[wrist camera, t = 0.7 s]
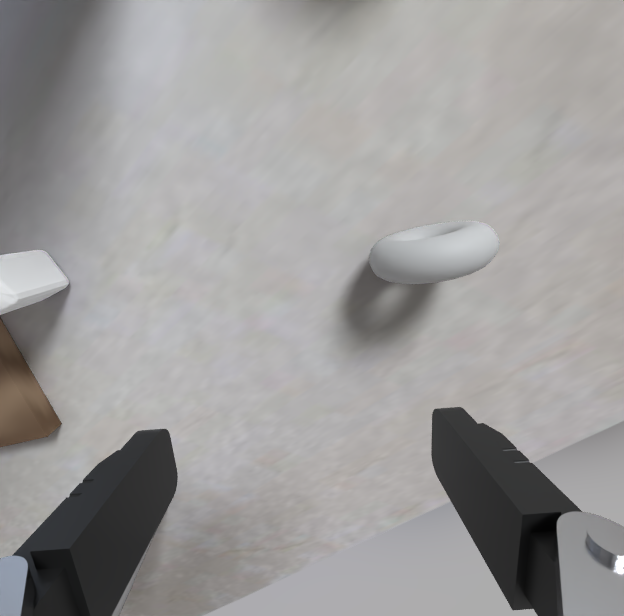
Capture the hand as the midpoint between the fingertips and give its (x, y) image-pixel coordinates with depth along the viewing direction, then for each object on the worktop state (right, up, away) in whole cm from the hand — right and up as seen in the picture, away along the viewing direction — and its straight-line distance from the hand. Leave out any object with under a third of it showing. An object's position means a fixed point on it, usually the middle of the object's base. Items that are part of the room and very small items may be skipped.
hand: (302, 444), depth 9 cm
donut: (+10, +10, +21) cm, 25 cm away
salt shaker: (-25, +7, +20) cm, 33 cm away
